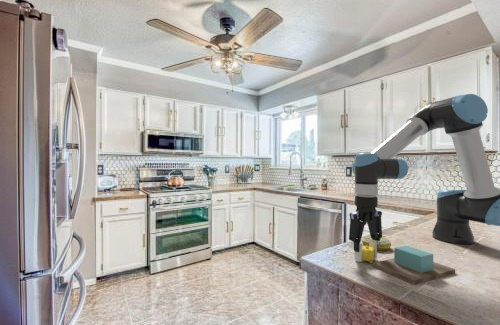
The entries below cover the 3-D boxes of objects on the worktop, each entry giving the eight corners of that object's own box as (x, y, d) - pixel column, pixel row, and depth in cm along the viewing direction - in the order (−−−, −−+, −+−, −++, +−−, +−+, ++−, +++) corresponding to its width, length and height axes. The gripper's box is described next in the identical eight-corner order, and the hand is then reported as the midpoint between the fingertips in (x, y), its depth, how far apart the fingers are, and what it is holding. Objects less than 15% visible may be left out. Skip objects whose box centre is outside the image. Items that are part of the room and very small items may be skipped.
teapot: (357, 254, 96) (358, 241, 96) (374, 257, 93) (375, 243, 93) (354, 261, 89) (355, 247, 89) (373, 265, 86) (373, 250, 86)
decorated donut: (371, 242, 113) (371, 233, 113) (396, 248, 104) (396, 239, 104) (357, 245, 108) (357, 236, 108) (381, 253, 99) (381, 243, 99)
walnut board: (412, 257, 94) (412, 254, 94) (455, 273, 81) (455, 269, 81) (373, 266, 86) (373, 262, 86) (414, 284, 73) (414, 280, 73)
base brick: (406, 259, 89) (406, 245, 89) (433, 269, 81) (433, 254, 81) (394, 262, 86) (394, 247, 86) (420, 272, 78) (421, 256, 78)
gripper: (376, 193, 99) (376, 251, 99) (337, 195, 91) (337, 259, 91) (394, 195, 92) (393, 258, 92) (353, 198, 84) (353, 267, 84)
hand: (365, 258), depth 91 cm, fingers closed on teapot, 6 cm apart
